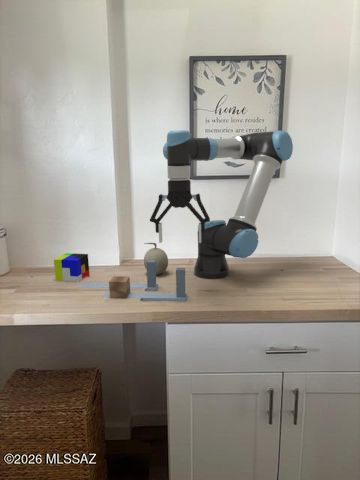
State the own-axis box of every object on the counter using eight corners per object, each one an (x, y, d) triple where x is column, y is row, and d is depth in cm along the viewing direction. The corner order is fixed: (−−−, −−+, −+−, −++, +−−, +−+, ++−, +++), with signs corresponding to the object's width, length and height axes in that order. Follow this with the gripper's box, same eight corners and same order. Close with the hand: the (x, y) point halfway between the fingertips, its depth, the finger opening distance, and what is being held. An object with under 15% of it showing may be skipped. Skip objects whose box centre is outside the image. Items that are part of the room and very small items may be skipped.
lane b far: (120, 285, 139) (120, 283, 138) (117, 290, 134) (117, 287, 134) (83, 285, 140) (83, 283, 140) (79, 289, 135) (78, 287, 135)
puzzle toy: (78, 284, 142) (76, 260, 139) (56, 283, 144) (53, 259, 141) (89, 276, 151) (87, 254, 149) (68, 275, 153) (66, 253, 151)
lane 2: (187, 295, 127) (186, 266, 125) (186, 301, 122) (185, 271, 120) (106, 294, 130) (104, 266, 127) (102, 299, 125) (100, 270, 122)
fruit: (168, 269, 159) (167, 237, 156) (168, 277, 148) (167, 243, 145) (145, 269, 159) (144, 237, 155) (143, 278, 148) (142, 243, 144)
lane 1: (158, 286, 137) (157, 259, 135) (156, 290, 133) (155, 263, 130) (127, 285, 138) (126, 259, 136) (125, 290, 134) (123, 262, 131)
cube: (130, 292, 129) (129, 276, 128) (126, 298, 123) (125, 282, 122) (114, 291, 130) (113, 276, 128) (109, 297, 124) (108, 281, 123)
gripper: (216, 178, 118) (216, 239, 123) (143, 179, 121) (146, 239, 125) (217, 179, 111) (217, 244, 116) (139, 180, 113) (142, 244, 118)
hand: (180, 242), depth 121 cm, fingers open, 13 cm apart
